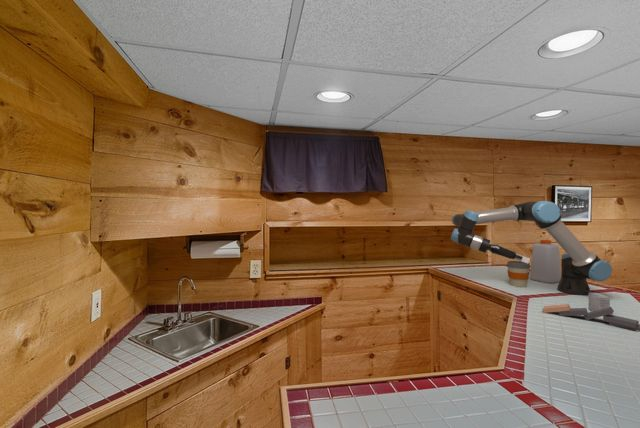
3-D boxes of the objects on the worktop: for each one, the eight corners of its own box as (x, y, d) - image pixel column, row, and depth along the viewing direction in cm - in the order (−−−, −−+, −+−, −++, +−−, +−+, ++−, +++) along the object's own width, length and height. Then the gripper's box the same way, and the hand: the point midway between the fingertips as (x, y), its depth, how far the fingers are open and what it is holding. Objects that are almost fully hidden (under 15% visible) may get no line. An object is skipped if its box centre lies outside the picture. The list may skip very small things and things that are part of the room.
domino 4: (609, 321, 131) (643, 328, 124) (609, 318, 134) (642, 324, 127) (609, 326, 131) (643, 333, 124) (609, 323, 134) (642, 329, 127)
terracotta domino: (542, 308, 147) (567, 306, 141) (544, 306, 151) (568, 303, 144) (544, 312, 147) (569, 310, 140) (545, 310, 150) (570, 307, 144)
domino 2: (583, 315, 138) (609, 309, 131) (585, 313, 141) (610, 306, 134) (586, 320, 137) (612, 313, 130) (588, 317, 140) (614, 311, 134)
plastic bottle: (527, 279, 213) (527, 239, 212) (540, 277, 219) (540, 238, 218) (550, 284, 199) (550, 241, 199) (564, 281, 205) (564, 240, 205)
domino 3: (603, 316, 132) (635, 323, 124) (606, 313, 135) (638, 320, 127) (603, 320, 132) (635, 328, 124) (606, 318, 135) (638, 325, 127)
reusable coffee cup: (507, 282, 205) (507, 260, 205) (530, 284, 198) (530, 262, 198) (506, 286, 195) (506, 263, 195) (529, 289, 188) (529, 265, 188)
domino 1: (558, 311, 143) (585, 310, 136) (559, 308, 147) (586, 307, 140) (559, 315, 143) (587, 315, 136) (560, 312, 146) (587, 312, 140)
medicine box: (610, 315, 142) (610, 297, 142) (599, 315, 143) (599, 297, 143) (598, 310, 150) (598, 292, 150) (588, 309, 151) (588, 292, 151)
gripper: (477, 252, 173) (524, 269, 162) (478, 247, 162) (529, 266, 151) (482, 240, 174) (529, 256, 163) (483, 235, 163) (534, 252, 151)
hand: (528, 261), depth 157 cm, fingers closed
